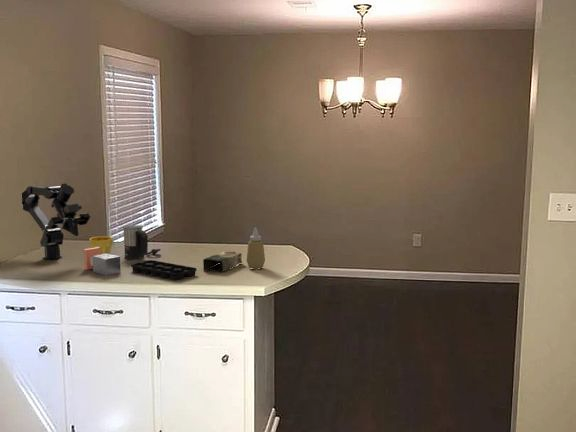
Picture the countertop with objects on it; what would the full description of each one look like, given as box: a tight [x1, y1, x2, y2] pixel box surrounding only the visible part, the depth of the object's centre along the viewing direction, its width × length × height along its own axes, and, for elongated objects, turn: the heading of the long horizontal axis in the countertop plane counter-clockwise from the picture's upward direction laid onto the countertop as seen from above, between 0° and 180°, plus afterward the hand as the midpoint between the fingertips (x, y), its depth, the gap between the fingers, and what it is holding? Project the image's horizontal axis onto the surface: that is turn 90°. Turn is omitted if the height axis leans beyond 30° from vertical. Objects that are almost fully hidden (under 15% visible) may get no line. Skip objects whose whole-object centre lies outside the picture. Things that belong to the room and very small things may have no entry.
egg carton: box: [130, 259, 198, 282], centre depth 287 cm, size 18×30×4 cm, turn 66°
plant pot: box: [89, 235, 114, 254], centre depth 316 cm, size 10×10×10 cm
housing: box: [92, 253, 122, 276], centre depth 289 cm, size 10×7×7 cm
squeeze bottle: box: [246, 227, 266, 269], centre depth 294 cm, size 8×8×18 cm
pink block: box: [83, 247, 101, 271], centre depth 293 cm, size 10×7×9 cm, turn 49°
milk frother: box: [122, 224, 161, 260], centre depth 321 cm, size 14×16×15 cm
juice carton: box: [202, 251, 243, 273], centre depth 298 cm, size 20×10×6 cm, turn 158°
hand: (77, 235), depth 302 cm, fingers closed
